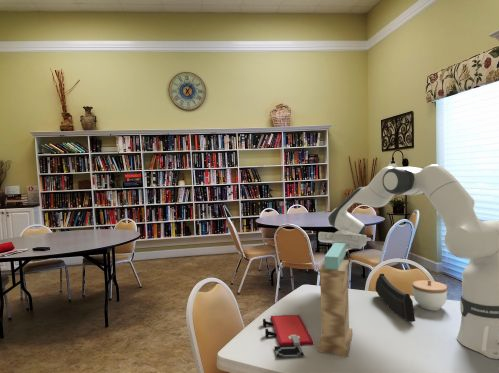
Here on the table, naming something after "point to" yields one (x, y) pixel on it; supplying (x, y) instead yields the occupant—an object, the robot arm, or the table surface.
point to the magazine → (395, 299)
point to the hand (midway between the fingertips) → (342, 235)
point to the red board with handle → (288, 334)
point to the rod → (335, 256)
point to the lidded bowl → (429, 294)
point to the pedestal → (335, 310)
